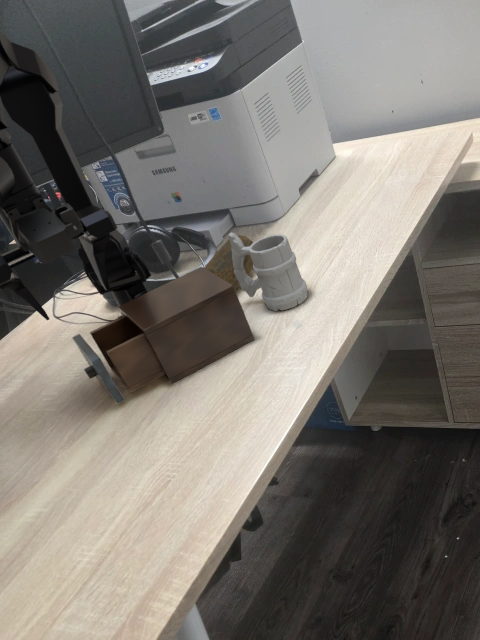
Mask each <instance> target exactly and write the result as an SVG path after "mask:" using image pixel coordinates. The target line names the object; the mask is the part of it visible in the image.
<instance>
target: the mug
mask: <svg viewBox="0 0 480 640" xmlns="http://www.w3.org/2000/svg"><path fill="white" fill-rule="evenodd" d="M229 239H230V242H231V247H232V248H231V250H232V260H233V267H234V274H235V276H236V278H237V280H238V282H239V287H240V289H242V291H243V292H245V293H246V294H247V295H248V296H249V298H253V297H254V296H255V295H256V293H257V290H259V289H261V291H262V292H261V298H262V301H263V302H264V303H265V305H266V306H267V308H268V310H270V311H273V312H278V311H279V310H280V311H287V310H289V309H292V308H295V307H297V306H298V305H301V304H302V303H303V302H305V301H306V299H307V297H308V291H307V290H308V289H307V288H308V285H307V282H306V280H305V279H303V278H302V274H301V271H300V268H299V266H298V264H297V257H296V253H295V252H294V251H293V250H292V247H291V245H290V243H289V239H288V237H287V235H285V234H280V233H279V234H272V235H267V236H265V237H262V238H259V239H258V240H256V241H253V244H252V245H251V246H248V247H244V245H243V243H242V241H241V239H240V238H239V237H238V235H237V234H236V233H234V232H230V233H229V234H228V240H229ZM245 255H251V258H252V261H253V268H252V270H253V272H254V274H255V275H256V276H257V278H255V279H253V278H251V276H249V274H248V275H247V274H246V271H245V269H244V267H243V260H244V256H245Z"/></svg>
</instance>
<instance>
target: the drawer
mask: <svg viewBox="0 0 480 640" xmlns="http://www.w3.org/2000/svg"><path fill="white" fill-rule="evenodd" d="M119 317H120V316H119ZM89 335H90V336H91V338H92V339H93V341H94V343H95V345H96V346H97V348H98V350H99V352H100V353H101V355H102V357H103V358H104V360H105V362H106V363H107V365H108V367H109V369H110V370H111V372H112V373H113V374H114V375H115V376H116V377H117V378H118V379H119V381H120V382H121V384H123V386H124V387H125V388H126V389H127V390H128V391H129V393H133V392H135V391H137V390H138V389H140V388H142V387H144V386H146V385H148V384H150V383H151V382H153V381H155V380H157V379H159V378H161V377H164V376H163V375H165V372H164V370H163V368H162V366H161V364H160V362H159V360H158V358H157V357H156V355H155V353H154V351H153V349H152V347H151V345H150V343H149V341H148V339H147V338H146V336H145V333H143V332H142V331H141V330H140V329H139V328H138V327H137V326H136V325H135V324H134V323H133V322H132V321H130V320H129V319H128V318H127V317H126V316H125V315H124V316H122V317H120V318H118V317H117V318H116V319H114V320H112V321H110V322H107V323H106V324H104V325H102V326H100V327H98V328H96V329H94V330H91V331H90V332H89ZM72 340H73V341H74V343H75V345H76V346H77V348H78V349H79V351H80V353H81V354H82V356H83V358H84V359H85V361H86V363H87V364H88V367H84V369H83V371H84V372H85V374H86V375H87V377H88V378H89V379H90V380H92V379H94V378H95V377H96V379H97V380H98V381H99V383H100V384H101V385H102V386H103V388H104V389H105V391H106V392H107V393H108V394H109V395H110V397H111V398H112V399H113V401H114V402H115V403H116V404H117V405H119V404H121V403H123V402H125V401H126V400H125V398H124V396H123V394H122V393H121V391H120V389H119V387H118V386H117V384H116V383H115V381H114V379H113V377H112V376H111V374H110V372H109V371H108V369H107V367H106V366H105V364H104V363H103V361H102V359H101V358H100V356H99V355H98V354H97V353H96V352H95V350H94V349H93V348H92V347H91V346H90V344H89V342H87V341H86V340H85V338H84V337H83V336H82V335H81V334H80V333H78V334H76V335H74V336H72Z"/></svg>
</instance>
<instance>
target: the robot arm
mask: <svg viewBox="0 0 480 640" xmlns="http://www.w3.org/2000/svg"><path fill="white" fill-rule="evenodd" d="M5 112H6V113H7V115H8V117H9V119H10V120H11V121H12V122H13V123H14V124H15V125H17V126H18V127H19V128H21V129H22V130H23V131H24V132H26V133H27V134H28V135H29V136H31V138H32V140H33V141H34V144H35V146H36V148H37V150H38V151H39V154H40V156H41V158H42V160H43V162H44V164H45V166H46V168H47V170H48V172H49V173H50V176H51V177H52V180H53V182H54V184H55V186H56V187H57V190H58V192H59V193H60V196H61V198H62V200H63V201H64V204H63V205H61V206H58V207H56V208H55V209H54V210H53V209H52V208H51V207H50V206H49V205H48V204H47V202H46V201H45V199H44V197H42V194H41V192H40V191H39V189H38V187H37V185H36V184H35V182H34V180H33V179H32V176H31V175H30V173H29V171H28V170H27V168H26V166H25V164H24V162H23V160H22V158H21V157H20V155H19V153H18V151H17V150H16V148H15V146H14V144H13V142H12V141H11V140H12V136H11V134H10V133H9V132H8V131H7V130H6V129H8V123H7V119H6V114H5ZM62 125H63V101H62V98H61V97H60V94H59V85H58V82H57V79H56V77H55V75H54V73H53V71H52V70H51V68H50V66H48V64H47V63H46V62H45V61H44V60H43V58H41V56H40V55H39V54H38V53H37V52H36V51H35V50H33V49H30V48H29V47H26V46H23V45H21V44H17V43H15V42H12V41H10V39H8V37H7V36H6V35H5V34H4V33H2V32H1V31H0V220H1V221H2V222H3V224H4V225H5V227H6V229H7V230H8V232H9V234H10V235H11V237H12V239H13V240H14V242H15V243H16V245H17V247H15V248H13V249H11V250H8V251H6V252H3V253H2V254H1V253H0V292H1V291H5V290H7V289H8V290H9V291H11V292H12V293H14V294H16V295H17V296H18V297H20V298H21V299H23V300H24V301H25V302H26V303H27V304H28V305H29V306H30V307H31V308H33V309H34V310H35V311H36V312H37V313H38V314H39V315H41V317H43V318H44V319H45V320H46V321H50V316H49V315H48V314H47V311H46V310H45V309H44V308H43V307H42V305H41V303H39V301H38V300H37V299H36V298H35V297H34V295H33V294H32V292H31V291H30V290H29V289H28V287H27V286H26V285H25V284H24V282H23V280H22V279H21V278H20V277H19V276H17V275H16V274H15V273H14V272H13V270H12V269H13V268H16V267H18V266H20V265H22V264H23V263H26V262H28V261H30V260H32V259H34V258H36V259H37V261H38V262H39V263H41V264H49V263H52V262H54V261H55V259H57V258H60V257H61V256H63V255H66V254H67V255H69V254H72V253H73V252H75V250H76V248H77V246H76V244H75V242H74V240H75V239H79V240H80V241H79V248H78V250H77V252H78V257H79V258H80V260H81V262H82V267H83V271H84V273H85V275H86V277H87V278H88V280H89V281H90V283H91V284H92V285H93V287H94V288H95V289H96V291H97V292H98V293H99V295H100V296H102V295H105V294H108V293H111V294H112V297H113V298H114V301H115V302H116V304H117V306H118V307H119V306H121V305H123V304H125V303H127V302H129V301H131V300H133V299H135V298H137V297H139V296H142V295H144V294H146V293H148V292H149V291H148V289H147V288H146V285H145V284H144V283H146V282H147V280H148V279H149V278H151V277H152V273H151V271H150V268H149V267H148V265H147V263H146V260H145V259H144V257H142V256H141V255H140V254H139V253H138V252H137V251H136V250H135V249H134V248H133V247H132V246H130V245H129V243H128V242H127V239H126V238H125V236H124V235H123V233H121V232H120V231H118V230H117V229H118V226H117V224H116V222H115V220H114V218H113V216H112V214H111V213H110V211H108V210H107V209H104V208H102V207H100V204H99V203H98V201H97V199H96V196H95V194H94V192H93V190H92V188H91V186H90V184H89V182H88V179H87V177H86V176H85V173H84V170H83V169H82V166H81V165H80V162H79V160H78V158H77V156H76V155H75V152H74V150H73V148H72V146H71V143H70V141H69V139H68V137H67V135H66V133H65V131H64V128H63V126H62ZM122 316H123V315H122V314H121V315H119V316H118V317H117V319H118V318H120V317H122Z"/></svg>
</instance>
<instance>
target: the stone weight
mask: <svg viewBox="0 0 480 640" xmlns="http://www.w3.org/2000/svg"><path fill="white" fill-rule="evenodd" d="M237 236H238V237H239V238H240V239H241V241H242V243H243V245H244V247H248V246H251V245H252V244H253V243H254V241H253V240H252V239H250V238H248V237H247V236H245V235H242V234H241V235H239V234H238V235H237ZM231 248H232V247H231V242H230V239H229V238H228V240H227V241H226V242H225V243H224V244H223V245H222V246H221V247H220V248H219V249H218V251H216V253H215V254H214V255H213V256H212V257H211V258H210V260H209V261H208V262H207V264H206V265H205V266H204V267H203V268H204V269H206V270H208V271H209V272H211V273H213V274H214V275H216V276H218V277H219V278H221V279H223V280H225V281H226V282H228V283H230V284H231V285H233V286H234V289H235V291H236V290H237V289H238V288H239V287H240V285H239V282H238V280H237V278H236V276H235V274H234V267H233V260H232V250H231ZM243 267H244V269H245V271H246V274H247V275H248V276H249V274H250V273H251V271H252V270H253V261H252V258H251V255H245V256H244V260H243Z"/></svg>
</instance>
